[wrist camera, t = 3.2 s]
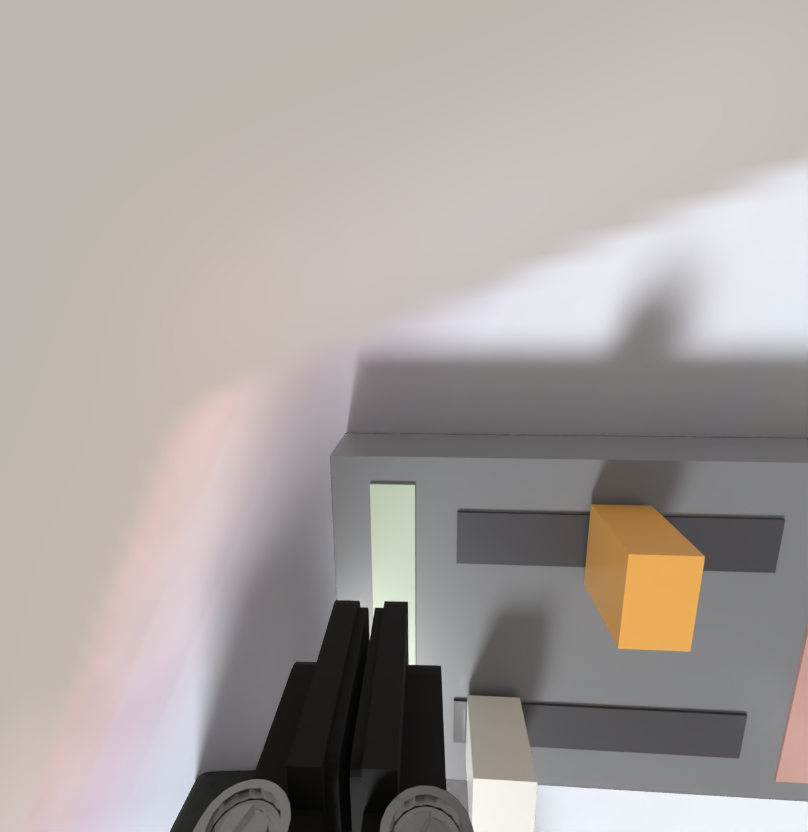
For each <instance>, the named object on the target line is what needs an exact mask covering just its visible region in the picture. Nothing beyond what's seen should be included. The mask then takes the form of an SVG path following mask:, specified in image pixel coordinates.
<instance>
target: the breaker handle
mask: <svg viewBox="0 0 808 832" xmlns="http://www.w3.org/2000/svg"><path fill="white" fill-rule="evenodd" d="M704 560H705V556H704V555H703V554H702V553H701V552H700V551H699V550H698V549H697V548H696V547H695V546H694V545H693V544H691V543H690V542H689V541H688V540H687V539H686V538H685V537H684V536H683V535H682V534H681V533H680V532H679V531H678V530H677V529H676V528H675V527H674V526H673V525H672V524H670V523H669V522H668V521H667V520H666V519H665V518H664V517H663V516H662V515H661V514H660V513H659V512H658V511H657V510H656V509H655V508H654V507H653V506H645V505H597V504H591V510H590V521H589V532H588V543H587V554H586V566H585V577H584V584H585V586H586V588H587V590H588V592H589V594H590V596H591V597H592V599H593V601H594V603H595V605H596V607H597V609H598V611H599V613H600V615H601V617H602V619H603V621H604V623H605V624H606V626H607V628H608V630H609V632H610V634H611V636H612V638H613V640H614V642H615V644H616V646H617V648H618V649H637V650H661V651H685V652H690V651H691V644H692V638H693V632H694V625H695V619H696V612H697V606H698V599H699V593H700V586H701V580H702V573H703V567H704Z"/></svg>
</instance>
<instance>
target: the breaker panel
mask: <svg viewBox="0 0 808 832" xmlns="http://www.w3.org/2000/svg"><path fill="white" fill-rule="evenodd" d="M330 465H331V487H332V509H333V530H334V552H335V573H336V595H337V600H353V601H360V607H368V609H369V635H371V629H372V623H373V617H374V610H375V608H383V607H384V602H385V601H403V602H408V651H409V665H438V666H441V673H442V697H443V721H444V745H445V770H446V779H452V780H467V791H468V807H469V818H470V821H471V824H472V826H473V830H474V832H534V822H535V809H536V795H537V785H549V786H565V787H581V788H597V789H614V790H630V791H646V792H662V793H678V794H695V795H711V796H727V797H743V798H759V799H776V800H792V801H808V438H746V437H656V436H565V435H475V434H385V433H346V434H345V435H344V437H343V438H342V440H341V441H340V442H339V444H338V445H337V447H336V448H335V450H334V451H333V452H332V454H331V455H330ZM591 504H597V505H645V506H653V507H654V508H655V509H656V510H657V511H658V512H659V513H660V514H661V515H662V516H663V517H664V518H665V519H666V520H667V521H668V522H669V523H670V524H672V525H673V526H674V527H675V528H676V529H677V530H678V531H679V532H680V533H681V534H682V535H683V536H684V537H685V538H686V539H687V540H688V541H689V542H690V543H691V544H693V545H694V546H695V547H696V548H697V549H698V550H699V551H700V552H701V553H702V554H703V555H704V556H705V560H704V567H703V573H702V580H701V586H700V593H699V599H698V606H697V612H696V619H695V625H694V632H693V638H692V644H691V651H690V652H685V651H661V650H637V649H618V648H617V646H616V644H615V642H614V640H613V638H612V636H611V634H610V632H609V630H608V628H607V626H606V624H605V623H604V621H603V619H602V617H601V615H600V613H599V611H598V609H597V607H596V605H595V603H594V601H593V599H592V597H591V596H590V594H589V592H588V590H587V588H586V586H585V584H584V577H585V566H586V554H587V543H588V532H589V521H590V510H591Z"/></svg>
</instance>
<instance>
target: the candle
mask: <svg viewBox="0 0 808 832" xmlns="http://www.w3.org/2000/svg"><path fill="white" fill-rule="evenodd" d="M254 773H255V771H235V772H211V773H205V774H203V775H201V776H200V777H199V778H197V780H196V781H195V783H194V785H193V787H192V789H191V791H190V793H189V795H188V797H187V799H186V801H185V803H184V805H183V807H182V809H181V811H180V813H179V815H178V817H177V819H176V821H175V823H174V825H173V827H172V828H171V830H170V832H193V830H194V828H195V827H196V825H197V823H198V821H199V820H200V818H201V816H202V815H203V813H204V812H205V810H206V809H207V808H208V806H209V805H210V804H211V802H212V801H213V800H214V799H215V798H217V797H218V796H219V795H220V794H221V793H222V792H223V791H225V790H226V789H228V788H230V787H232V786H234V785H235V784H237V783H240V782H244V781H247V780H251V779H253V776H254Z"/></svg>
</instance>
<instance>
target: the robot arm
mask: <svg viewBox="0 0 808 832" xmlns="http://www.w3.org/2000/svg"><path fill="white" fill-rule="evenodd" d="M193 832H474V830H473V826H472V824H471V821H470V818H469V816H468V813H467V811H466V810H465V808H464V807H463V806H462V804H461V803H460V802H459V800H458V799H457V798H455V797H454V796H453V795H451V794H450V793H449V792H447V791H446V770H445V745H444V721H443V697H442V673H441V666H438V665H409V651H408V602H403V601H385V602H384V607H383V608H375V610H374V617H373V623H372V629H371V635H369V609H368V607H360V601H353V600H336V601H335V603H334V606H333V609H332V613H331V616H330V619H329V623H328V626H327V630H326V633H325V636H324V640H323V643H322V646H321V650H320V653H319V657H318V660H317V662H296V663H295V664H294V666H293V668H292V670H291V673H290V676H289V678H288V681H287V684H286V687H285V690H284V692H283V695H282V698H281V701H280V703H279V706H278V709H277V712H276V715H275V717H274V720H273V723H272V726H271V729H270V731H269V734H268V737H267V740H266V743H265V745H264V748H263V751H262V754H261V757H260V759H259V762H258V765H257V768H256V770H255V773H254V776H253V779H251V780H247V781H244V782H240V783H237V784H235V785H234V786H232V787H230V788H228V789H226V790H225V791H223V792H222V793H221V794H220V795H219V796H218V797H217V798H215V799H214V800H213V801H212V802H211V804H210V805H209V806H208V808H207V809H206V810H205V812H204V813H203V815H202V816H201V818H200V820H199V821H198V823H197V825H196V827H195V828H194V830H193Z"/></svg>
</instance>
